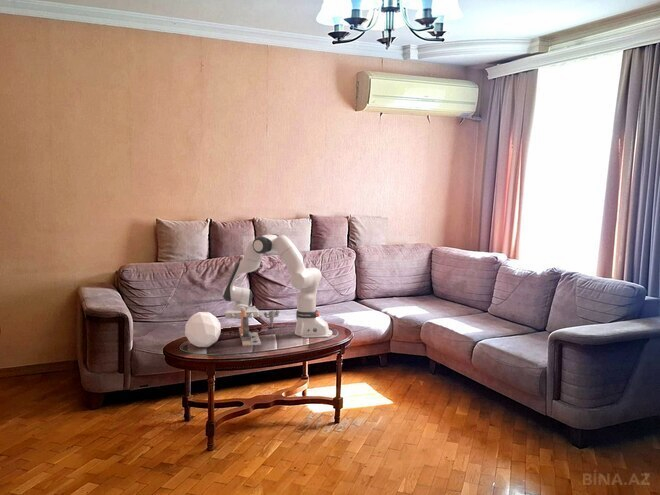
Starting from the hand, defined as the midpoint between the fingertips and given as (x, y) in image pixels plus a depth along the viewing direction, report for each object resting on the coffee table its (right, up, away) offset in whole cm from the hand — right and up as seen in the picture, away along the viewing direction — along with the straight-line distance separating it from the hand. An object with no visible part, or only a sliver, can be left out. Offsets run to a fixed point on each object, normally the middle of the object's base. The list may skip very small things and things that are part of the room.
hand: (242, 316), depth 348 cm
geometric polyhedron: (-18, -13, -26) cm, 34 cm away
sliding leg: (+2, -8, -7) cm, 11 cm away
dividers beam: (+3, -12, -14) cm, 18 cm away
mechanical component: (+16, -8, +15) cm, 24 cm away
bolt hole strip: (+8, -11, -13) cm, 19 cm away
